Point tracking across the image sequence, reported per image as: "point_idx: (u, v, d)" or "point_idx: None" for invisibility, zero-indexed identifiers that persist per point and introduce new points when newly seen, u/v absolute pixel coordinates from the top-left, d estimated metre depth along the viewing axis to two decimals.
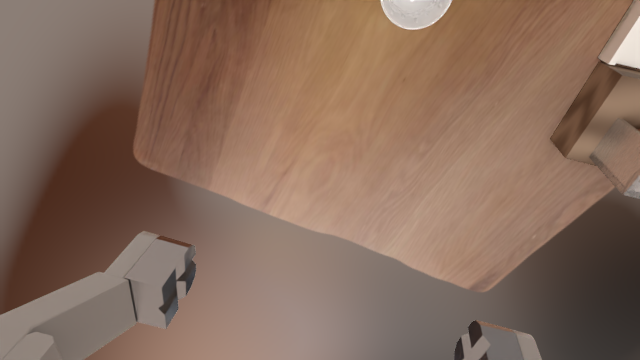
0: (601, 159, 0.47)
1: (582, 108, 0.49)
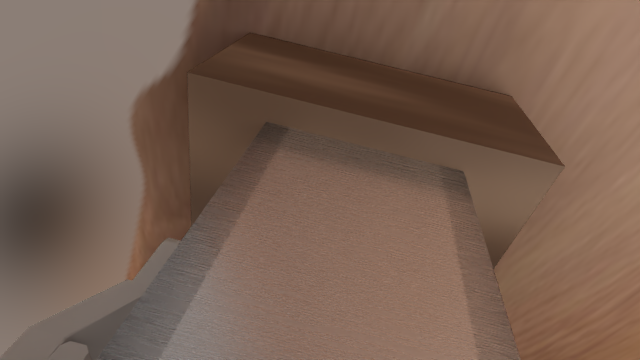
0: None
1: None
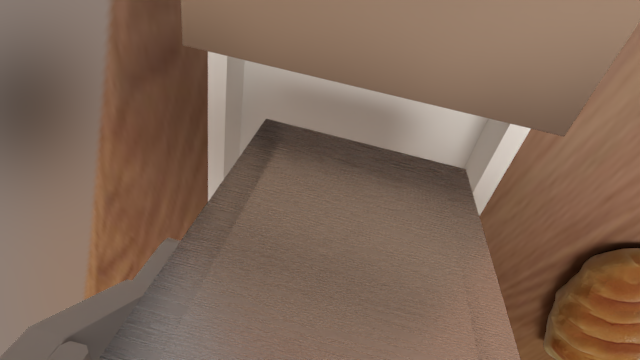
0: None
1: None
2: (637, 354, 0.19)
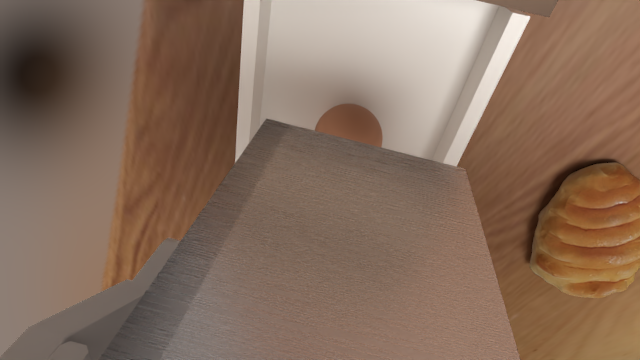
0: None
1: None
2: (608, 257, 0.22)
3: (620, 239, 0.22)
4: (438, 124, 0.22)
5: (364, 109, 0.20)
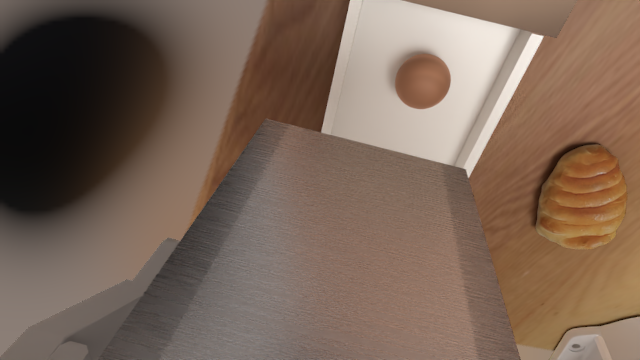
0: None
1: None
2: (594, 215, 0.30)
3: (601, 201, 0.29)
4: (473, 112, 0.29)
5: None
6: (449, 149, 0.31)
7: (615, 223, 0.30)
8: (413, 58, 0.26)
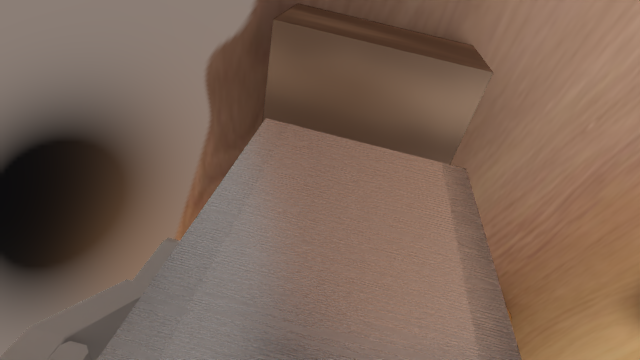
0: None
1: None
2: None
3: None
4: None
5: None
6: None
7: None
8: None
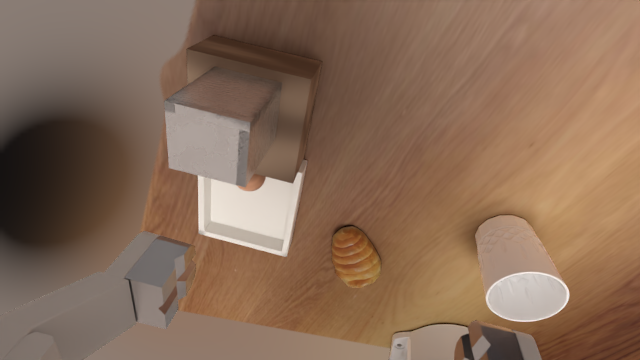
0: (274, 101, 0.32)
1: (307, 125, 0.39)
2: (353, 268, 0.49)
3: (355, 260, 0.49)
4: (288, 203, 0.48)
5: None
6: (282, 223, 0.50)
7: (370, 272, 0.50)
8: None
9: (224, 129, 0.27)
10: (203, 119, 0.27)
